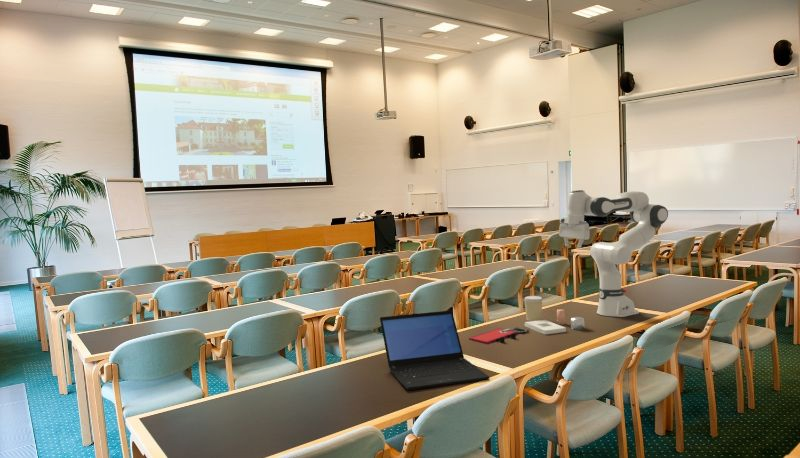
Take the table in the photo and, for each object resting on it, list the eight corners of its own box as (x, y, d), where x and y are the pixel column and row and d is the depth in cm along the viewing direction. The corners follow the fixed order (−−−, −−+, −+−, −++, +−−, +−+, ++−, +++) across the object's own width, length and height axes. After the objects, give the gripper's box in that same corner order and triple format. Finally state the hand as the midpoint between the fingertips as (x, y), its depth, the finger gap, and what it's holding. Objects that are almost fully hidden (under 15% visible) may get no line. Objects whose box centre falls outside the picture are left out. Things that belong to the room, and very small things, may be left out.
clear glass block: (578, 326, 277) (578, 316, 277) (587, 329, 271) (586, 319, 270) (568, 327, 275) (568, 317, 275) (576, 330, 269) (576, 320, 268)
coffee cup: (541, 317, 297) (540, 295, 296) (544, 321, 287) (543, 299, 286) (523, 317, 298) (523, 295, 297) (526, 322, 288) (525, 299, 287)
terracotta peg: (561, 322, 285) (561, 309, 285) (566, 324, 281) (566, 310, 281) (555, 323, 284) (555, 309, 283) (559, 324, 280) (559, 311, 280)
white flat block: (544, 323, 284) (544, 319, 284) (565, 331, 267) (565, 327, 267) (524, 325, 280) (524, 322, 280) (544, 334, 263) (544, 330, 263)
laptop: (406, 393, 197) (404, 340, 195) (380, 361, 233) (379, 317, 231) (490, 380, 206) (489, 330, 205) (453, 352, 242) (452, 309, 241)
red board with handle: (533, 332, 268) (508, 327, 280) (532, 327, 268) (508, 322, 279) (493, 346, 249) (468, 341, 260) (493, 340, 249) (468, 335, 260)
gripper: (593, 222, 280) (591, 248, 281) (567, 220, 299) (565, 245, 299) (583, 221, 278) (581, 248, 278) (557, 219, 296) (555, 244, 297)
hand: (573, 246), depth 289 cm, fingers open, 8 cm apart
